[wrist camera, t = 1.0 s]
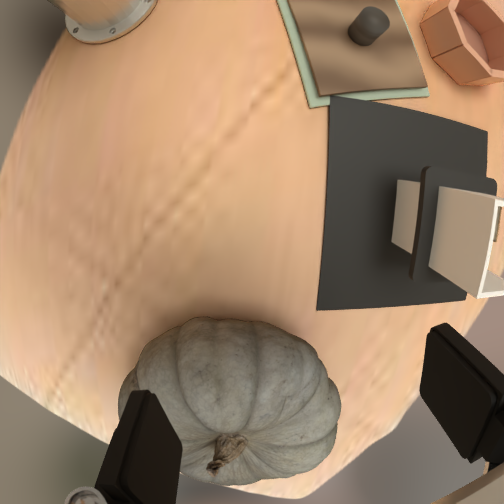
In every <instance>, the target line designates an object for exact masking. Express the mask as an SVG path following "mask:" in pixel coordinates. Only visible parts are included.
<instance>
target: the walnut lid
mask: <svg viewBox="0 0 504 504" xmlns="http://www.w3.org/2000/svg"><path fill="white" fill-rule="evenodd" d="M287 2H288V5H289V7H290V10H291V13H292V15H293V18H294V21H295V23H296V26H297V29H298V32H299V35H300V38H301V41H302V43H303V46H304V49H305V52H306V56H307V59H308V62H309V65H310V68H311V71H312V75H313V78H314V81H315V85H316V88H317V91H318V95H319V97H322V96H330V95H337V94H346V93H355V92H365V91H376V90H390V89H410V88H426V87H428V86H427V82H426V79H425V76H424V73H423V70H422V67H421V64H420V61H419V58H418V55H417V52H416V50H415V47H414V44H413V42H412V39H411V36H410V34H409V31H408V29H407V27H406V24H405V22H404V20H403V17H402V15H401V13H400V10H399V8H398V6H397V4H396V2H395V0H287Z"/></svg>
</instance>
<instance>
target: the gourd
mask: <svg viewBox="0 0 504 504" xmlns="http://www.w3.org/2000/svg"><path fill="white" fill-rule="evenodd" d="M146 389H147V390H149V391H150V392H151V393H155V394H156V396H157V398H158V400H159V402H160V404H161V406H162V408H163V409H164V411H165V413H166V415H167V417H168V419H169V421H170V423H171V424H172V426H173V428H174V430H175V432H176V433H177V435H178V437H179V439H180V441H181V443H182V447H183V452H182V459H181V466H180V472H181V473H182V474H184V475H186V476H188V477H190V478H193V479H195V480H198V481H201V482H211V483H214V484H218V485H226V486H230V485H247V484H252V483H255V482H257V481H259V480H261V479H275V478H289V477H292V476H294V475H296V474H300V473H304V472H308V471H310V470H312V469H314V468H315V467H317V466H318V465H319V464H320V463H321V462H322V461H323V460H324V459H325V458H326V457H327V456H328V455H329V454H330V452H331V450H332V448H333V446H334V443H335V439H336V433H337V421H338V419H339V416H340V412H341V400H340V396H339V392H338V389H337V387H336V385H335V384H334V382H333V381H332V380H331V379H330V378H328V374H327V371H326V368H325V366H324V364H323V363H322V361H321V360H320V359H319V358H318V356H317V352H316V351H315V349H314V348H313V347H312V346H311V345H310V344H308V343H307V342H306V341H305V340H303V339H301V338H299V337H297V336H295V335H292V334H290V333H287V332H286V331H284V330H282V329H280V328H278V327H276V326H274V325H271V324H268V323H264V322H258V321H257V322H255V321H254V322H253V321H251V322H245V321H241V320H234V319H224V320H221V321H217V320H215V319H212V318H210V317H197V318H193V319H191V320H189V321H187V322H186V323H185V324H184V325H183V326H180V327H176V328H173V329H170V330H169V331H167V332H165V333H164V334H162V335H161V336H159V337H158V338H155V339H153V340H152V341H150V342H149V343H148V344H147V345H146V346H145V347H144V349H143V351H142V353H141V355H140V358H139V361H138V363H137V365H136V366H135V368H134V369H133V370H132V371H131V372H130V373H129V374H128V375H127V377H126V378H125V380H124V382H123V384H122V386H121V389H120V393H119V398H118V415H119V420H120V419H121V416H122V413H123V411H124V408H125V406H126V403H127V400H128V398H129V395H130V393H131V391H133V390H146Z"/></svg>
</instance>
